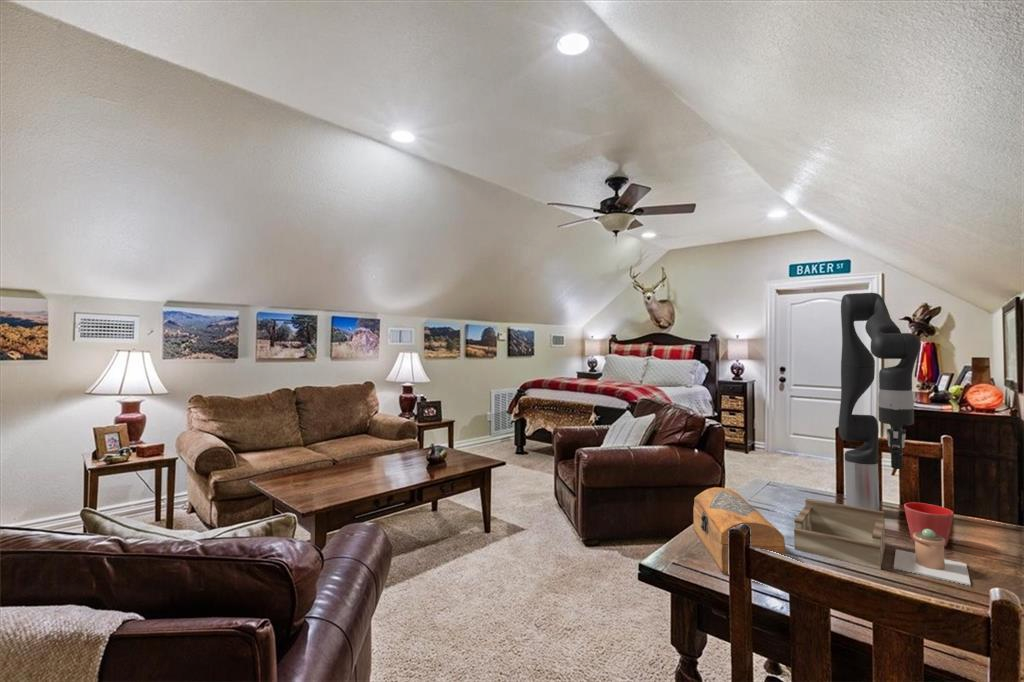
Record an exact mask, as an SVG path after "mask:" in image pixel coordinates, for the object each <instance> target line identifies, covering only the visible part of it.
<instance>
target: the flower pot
mask: <svg viewBox="0 0 1024 682" xmlns="http://www.w3.org/2000/svg"><path fill="white" fill-rule="evenodd" d="M903 507H904V512H905V517H906V521H907V525H908V530H909V535H910V537H911V540H913V541H914V542H915V540H914V539H913V533H917V532H922V531H923V530H924V529H930V530H932V531H933V532H934V533H935V535H937V536H940V537H942V538H944V539H945V545H944V548H945V547H947V546H948V543H949V538H950V535H951V530H952V525H953V521H954V511H953V510H951V509H949V508H946V507H943V506H941V505H940V506H939V505H937V504H936V505H935V504H929V503H926V502H925V503H924V502H915V501H914V502H913V501H912V502H907V503H904V504H903Z"/></svg>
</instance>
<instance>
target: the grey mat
mask: <svg viewBox="0 0 1024 682" xmlns="http://www.w3.org/2000/svg"><path fill="white" fill-rule="evenodd" d="M944 559H945V558H944ZM893 569H894V570H897V569H898V570H897V571H901V570H902V571H901V572H905V571H906V572H905V573H910V572H912V573H911V574H914V573H916V574H915V575H919V574H920V575H919V576H924V577H927V578H932V579H937V580H940V579H941V581H945V580H946V582H949V581H951V582H950V583H953V582H955V583H954V584H958V583H960V584H959V585H962V584H965V585H964V586H967V585H969V586H968V587H971V580H970V575H969V571H968V567H967V563H964V562H959V561H956V560H955V561H954V560H951V559H950V560H949V559H947V558H946V559H945V569H942V570H937V569H930V568H926V567H923V566H921V565H919V564H917V563H916V558H915V552H910V551H907V550H901V549H897V548H896V549H895V555H894V562H893Z"/></svg>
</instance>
